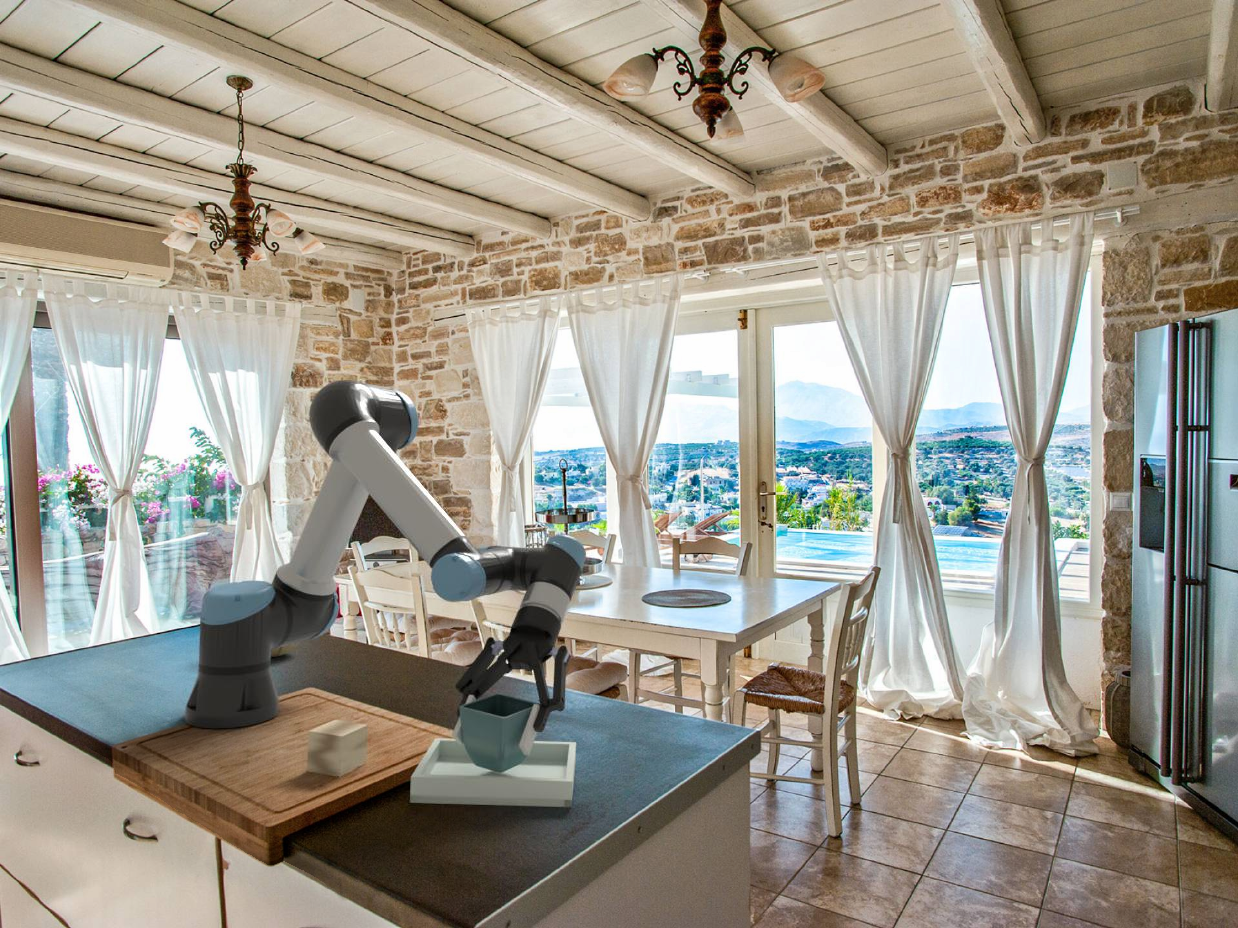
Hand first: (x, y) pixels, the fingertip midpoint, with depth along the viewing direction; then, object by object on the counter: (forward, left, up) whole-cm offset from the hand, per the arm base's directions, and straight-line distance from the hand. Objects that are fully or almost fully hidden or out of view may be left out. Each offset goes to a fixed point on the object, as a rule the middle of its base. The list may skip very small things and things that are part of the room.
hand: (490, 744), depth 113 cm
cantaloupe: (-62, +76, -7) cm, 98 cm away
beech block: (-24, +7, -6) cm, 26 cm away
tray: (+1, +3, -6) cm, 7 cm away
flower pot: (+1, +3, -4) cm, 5 cm away
